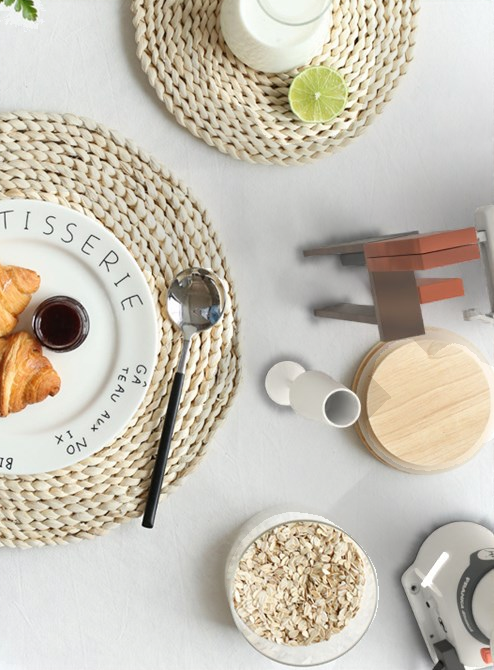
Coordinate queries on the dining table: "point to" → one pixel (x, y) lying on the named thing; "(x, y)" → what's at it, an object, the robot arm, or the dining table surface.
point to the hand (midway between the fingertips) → (458, 283)
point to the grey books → (359, 257)
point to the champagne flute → (312, 394)
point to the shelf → (410, 275)
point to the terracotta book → (439, 289)
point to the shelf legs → (345, 310)
